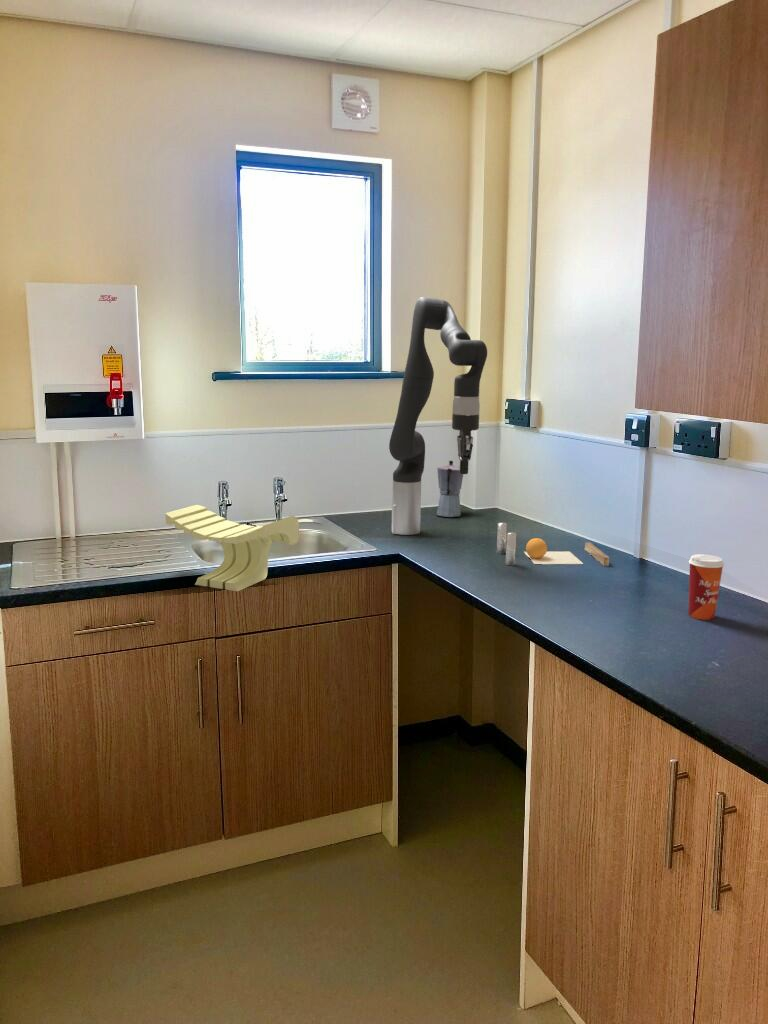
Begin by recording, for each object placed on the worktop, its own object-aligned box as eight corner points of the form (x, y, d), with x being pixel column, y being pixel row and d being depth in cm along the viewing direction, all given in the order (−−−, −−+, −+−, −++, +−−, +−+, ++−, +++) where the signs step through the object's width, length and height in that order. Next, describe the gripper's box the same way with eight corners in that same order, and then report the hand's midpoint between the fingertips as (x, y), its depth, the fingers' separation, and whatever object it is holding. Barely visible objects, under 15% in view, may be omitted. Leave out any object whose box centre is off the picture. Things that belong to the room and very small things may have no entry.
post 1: (497, 553, 248) (498, 524, 246) (495, 551, 250) (496, 522, 249) (506, 553, 248) (507, 524, 246) (504, 551, 251) (505, 522, 249)
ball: (528, 541, 239) (549, 541, 239) (525, 535, 245) (545, 535, 245) (527, 561, 241) (548, 561, 241) (524, 555, 246) (544, 555, 246)
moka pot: (462, 512, 308) (464, 458, 304) (462, 520, 293) (464, 464, 289) (436, 511, 309) (438, 457, 305) (435, 520, 294) (436, 463, 290)
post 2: (506, 565, 235) (508, 534, 233) (504, 563, 238) (506, 532, 236) (515, 565, 235) (517, 534, 233) (513, 562, 238) (515, 532, 236)
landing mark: (534, 564, 236) (534, 563, 236) (523, 552, 250) (523, 551, 250) (583, 564, 237) (583, 563, 237) (569, 552, 251) (569, 551, 251)
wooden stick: (603, 566, 236) (604, 557, 235) (584, 550, 253) (585, 542, 253) (608, 566, 236) (609, 557, 235) (589, 550, 253) (590, 542, 253)
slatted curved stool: (299, 579, 218) (298, 513, 215) (266, 596, 204) (265, 525, 201) (205, 565, 231) (203, 502, 227) (168, 580, 216) (165, 513, 213)
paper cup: (701, 623, 188) (706, 563, 186) (676, 613, 195) (681, 555, 192) (727, 619, 191) (733, 560, 189) (702, 609, 198) (707, 552, 196)
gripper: (449, 410, 240) (447, 470, 243) (456, 414, 227) (454, 477, 230) (475, 410, 240) (472, 470, 244) (483, 414, 227) (480, 477, 231)
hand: (463, 473), depth 237 cm, fingers closed
